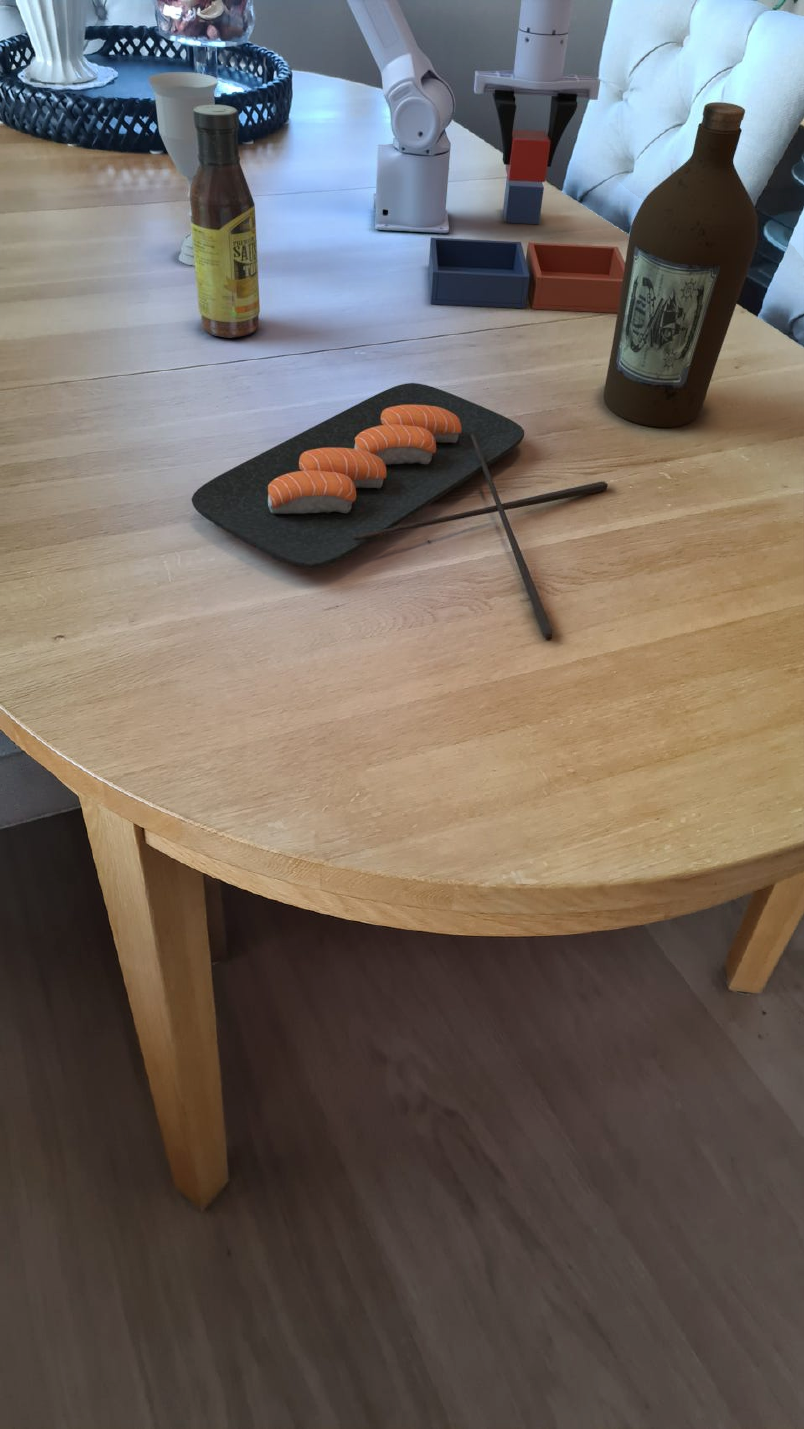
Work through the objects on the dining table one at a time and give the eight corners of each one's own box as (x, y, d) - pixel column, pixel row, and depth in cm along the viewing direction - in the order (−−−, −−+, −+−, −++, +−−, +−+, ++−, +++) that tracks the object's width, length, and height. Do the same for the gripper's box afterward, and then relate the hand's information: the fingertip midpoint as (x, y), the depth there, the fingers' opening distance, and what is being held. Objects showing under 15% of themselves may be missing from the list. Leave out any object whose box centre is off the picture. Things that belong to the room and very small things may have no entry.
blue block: (505, 222, 128) (509, 185, 125) (502, 211, 131) (506, 175, 128) (538, 224, 128) (544, 187, 125) (535, 213, 131) (540, 176, 128)
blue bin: (430, 304, 108) (432, 272, 105) (428, 268, 115) (430, 237, 113) (525, 308, 108) (529, 276, 106) (517, 272, 116) (521, 242, 113)
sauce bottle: (250, 344, 98) (235, 122, 84) (191, 336, 99) (167, 115, 85) (269, 319, 103) (258, 104, 89) (213, 311, 103) (194, 97, 89)
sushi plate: (409, 395, 92) (411, 356, 89) (691, 516, 79) (703, 475, 77) (177, 518, 76) (171, 475, 73) (485, 696, 63) (492, 652, 60)
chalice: (237, 250, 116) (224, 75, 104) (224, 271, 111) (209, 90, 99) (177, 245, 117) (157, 70, 104) (162, 265, 112) (139, 85, 99)
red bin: (532, 309, 108) (537, 277, 106) (523, 273, 116) (528, 242, 113) (626, 313, 108) (633, 282, 106) (612, 277, 116) (618, 246, 114)
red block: (508, 180, 118) (513, 139, 115) (505, 169, 121) (509, 129, 118) (545, 182, 118) (550, 141, 115) (540, 171, 121) (546, 130, 118)
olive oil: (618, 369, 98) (681, 83, 80) (720, 398, 95) (808, 105, 77) (579, 411, 91) (638, 108, 74) (687, 443, 88) (775, 134, 70)
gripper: (601, 26, 112) (580, 156, 122) (477, 20, 112) (466, 151, 121) (611, 39, 107) (588, 173, 117) (481, 32, 107) (470, 168, 116)
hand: (526, 163), depth 119 cm, fingers closed on red block, 4 cm apart
